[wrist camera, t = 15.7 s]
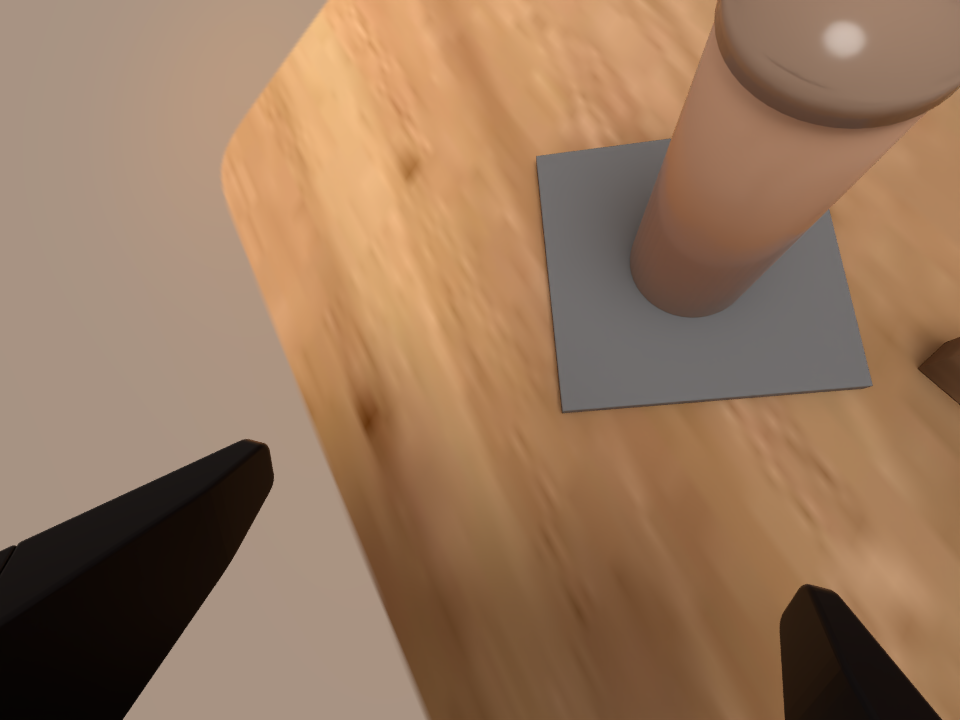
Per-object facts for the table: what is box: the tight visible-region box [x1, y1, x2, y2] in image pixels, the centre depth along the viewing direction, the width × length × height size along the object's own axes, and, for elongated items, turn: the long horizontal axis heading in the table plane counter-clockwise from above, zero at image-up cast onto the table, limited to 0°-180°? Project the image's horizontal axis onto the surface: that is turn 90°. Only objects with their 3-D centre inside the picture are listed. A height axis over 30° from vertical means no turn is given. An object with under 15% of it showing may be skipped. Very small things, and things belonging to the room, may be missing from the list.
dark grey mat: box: [536, 139, 873, 413], centre depth 23 cm, size 12×12×1 cm
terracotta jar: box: [630, 0, 960, 317], centre depth 17 cm, size 5×5×13 cm
